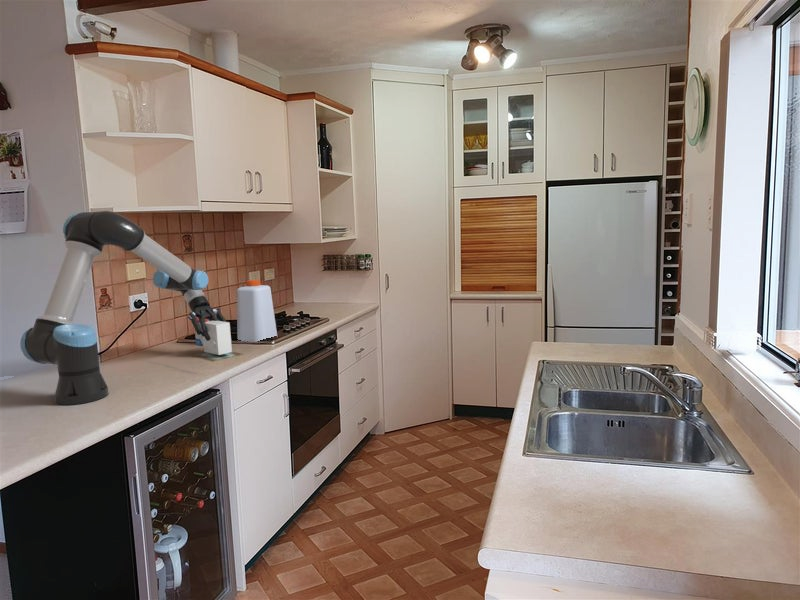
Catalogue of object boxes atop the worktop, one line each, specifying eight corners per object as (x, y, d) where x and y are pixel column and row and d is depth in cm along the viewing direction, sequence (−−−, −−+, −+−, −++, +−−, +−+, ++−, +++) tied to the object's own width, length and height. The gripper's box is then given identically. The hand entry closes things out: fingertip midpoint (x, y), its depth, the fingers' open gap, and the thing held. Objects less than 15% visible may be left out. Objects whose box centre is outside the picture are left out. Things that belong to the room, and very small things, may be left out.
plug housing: (218, 354, 233) (216, 325, 231) (203, 351, 240) (201, 322, 238) (231, 351, 237) (229, 322, 235) (217, 348, 244) (214, 320, 243)
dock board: (213, 364, 228) (213, 361, 228) (192, 359, 239) (191, 356, 239) (244, 357, 239) (244, 354, 238) (222, 352, 249) (222, 349, 249)
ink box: (195, 345, 266) (192, 313, 264) (203, 342, 271) (201, 311, 269) (209, 346, 262) (206, 313, 260) (217, 344, 267) (214, 312, 265)
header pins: (221, 356, 236) (220, 350, 236) (212, 354, 240) (212, 348, 240) (223, 355, 237) (222, 349, 236) (215, 353, 241) (214, 347, 240)
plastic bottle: (262, 345, 260) (257, 282, 256) (233, 344, 265) (228, 282, 261) (281, 338, 273) (276, 278, 269) (253, 337, 279) (249, 278, 275)
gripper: (214, 303, 253) (239, 345, 245) (172, 310, 239) (197, 354, 231) (220, 292, 249) (245, 334, 240) (178, 298, 235) (203, 342, 226)
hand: (222, 344), depth 235 cm, fingers closed on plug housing, 6 cm apart
